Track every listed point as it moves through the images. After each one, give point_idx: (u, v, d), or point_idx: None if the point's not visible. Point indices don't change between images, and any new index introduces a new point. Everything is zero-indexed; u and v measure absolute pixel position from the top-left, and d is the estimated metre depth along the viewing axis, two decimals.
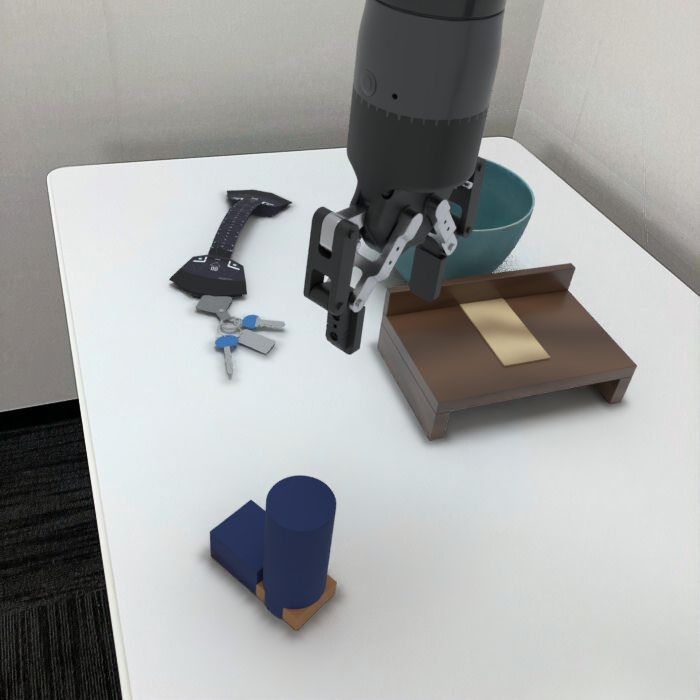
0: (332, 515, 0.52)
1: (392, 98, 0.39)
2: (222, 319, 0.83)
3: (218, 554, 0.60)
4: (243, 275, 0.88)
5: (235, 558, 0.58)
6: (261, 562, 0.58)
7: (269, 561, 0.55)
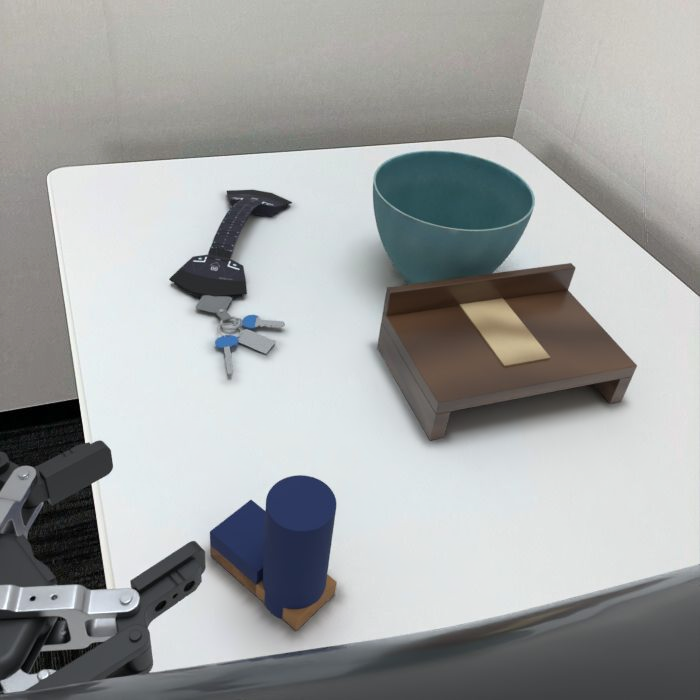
0: (332, 515, 0.52)
1: None
2: (222, 319, 0.83)
3: (218, 554, 0.60)
4: (243, 275, 0.88)
5: (235, 558, 0.58)
6: (261, 562, 0.58)
7: (269, 561, 0.55)
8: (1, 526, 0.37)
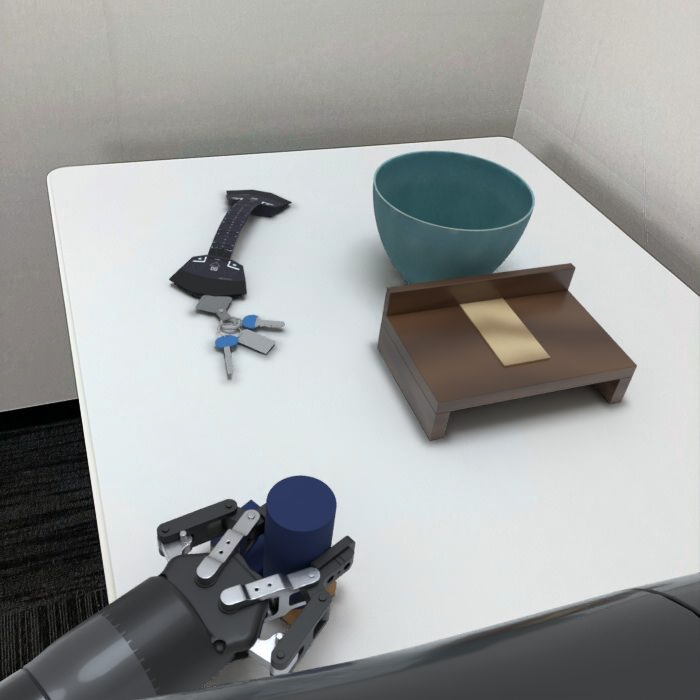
0: (332, 515, 0.52)
1: None
2: (222, 319, 0.83)
3: None
4: (243, 275, 0.88)
5: None
6: (261, 562, 0.58)
7: (269, 561, 0.55)
8: (232, 552, 0.53)
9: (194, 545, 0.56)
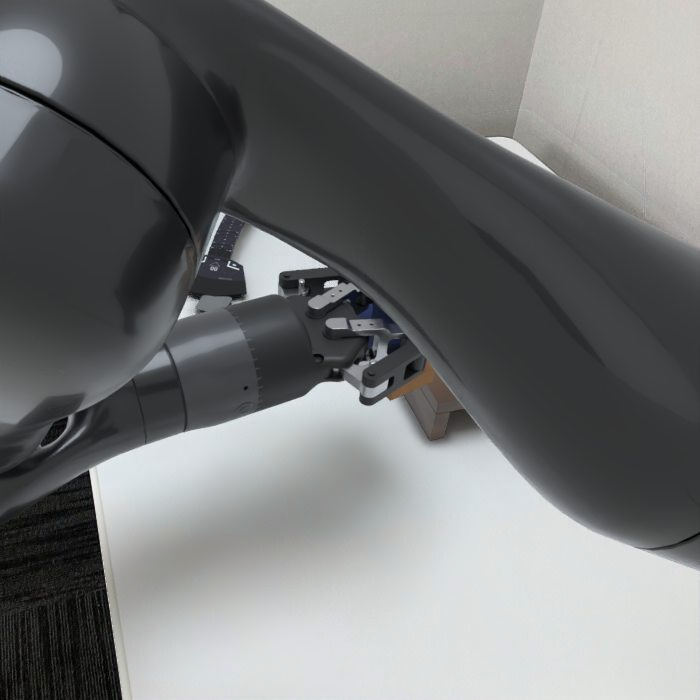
0: None
1: (247, 388, 0.50)
2: None
3: None
4: (243, 275, 0.88)
5: None
6: None
7: None
8: (343, 298, 0.57)
9: None
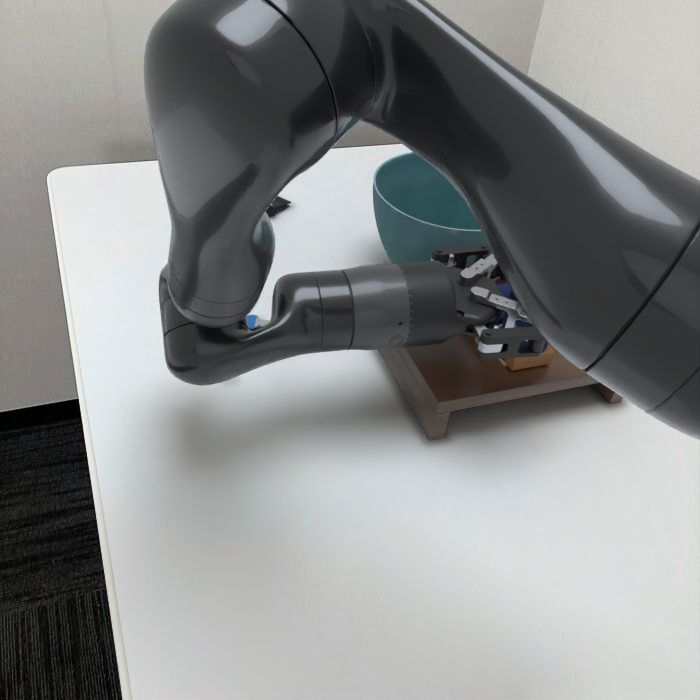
0: None
1: (401, 324, 0.65)
2: None
3: None
4: None
5: None
6: (503, 315, 0.76)
7: None
8: (484, 270, 0.71)
9: None
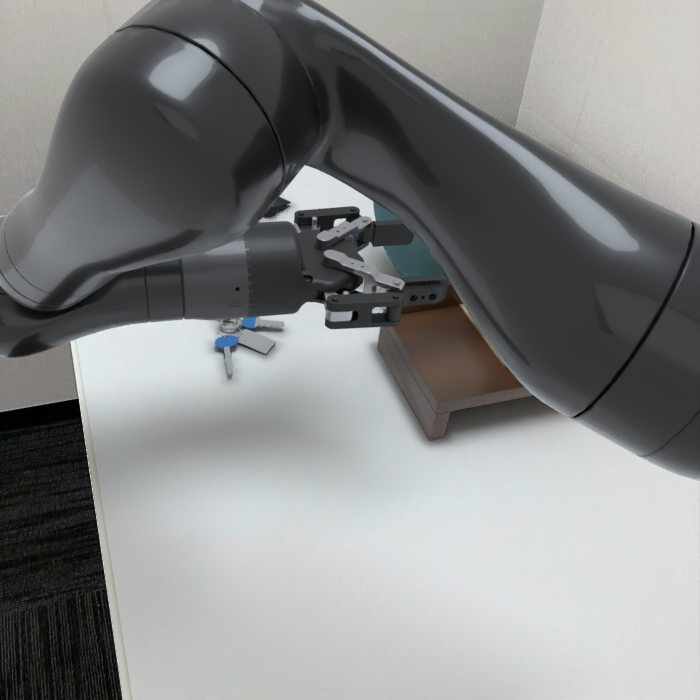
0: None
1: (239, 290, 0.59)
2: None
3: None
4: None
5: None
6: None
7: None
8: (346, 234, 0.65)
9: None
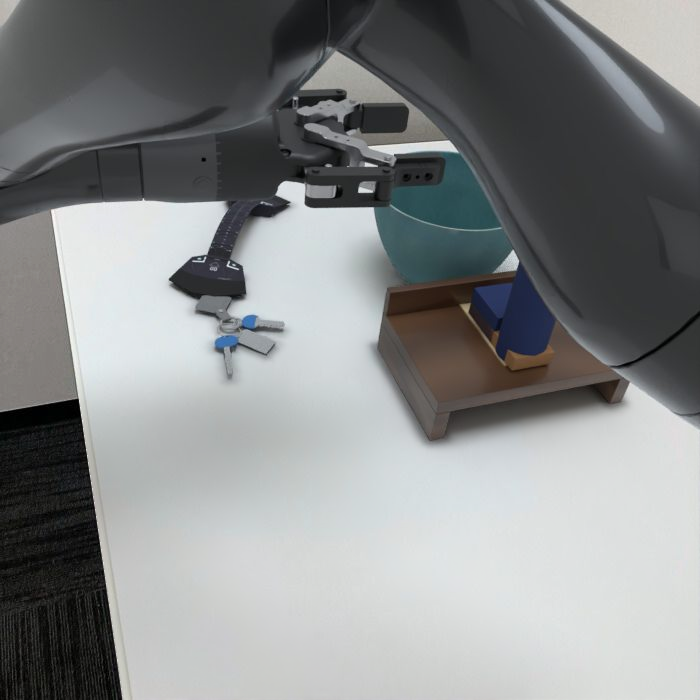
0: None
1: (206, 161, 0.51)
2: (222, 319, 0.83)
3: (474, 308, 0.79)
4: (242, 275, 0.88)
5: (486, 308, 0.77)
6: (503, 315, 0.76)
7: (510, 302, 0.72)
8: (331, 111, 0.57)
9: None
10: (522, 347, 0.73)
